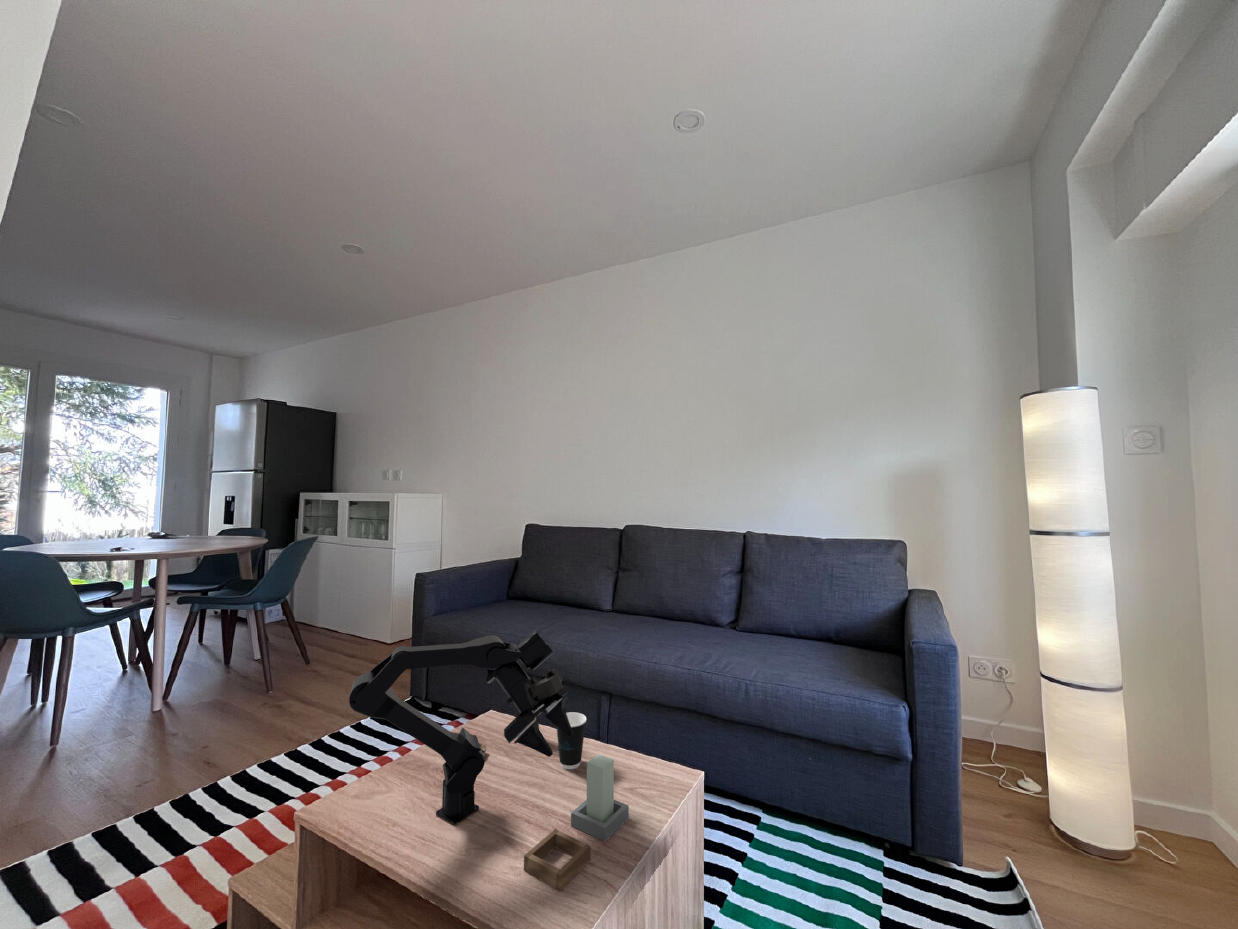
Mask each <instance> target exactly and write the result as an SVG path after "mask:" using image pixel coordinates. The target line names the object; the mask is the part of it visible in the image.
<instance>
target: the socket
mask: <svg viewBox="0 0 1238 929" xmlns="http://www.w3.org/2000/svg"><path fill="white" fill-rule="evenodd" d="M629 807H630V805H628V804H625V803H624V802H621V801H618V800H616V799H614V814H613V815H612V816H611V817H610V818H609V819H608V820H607V821H606V822H605V823H602V822H600V821H597V820H595V819H593V818H591V817H588V816H586V814H587V799H586V800H584V801H583V802H582V803H581V804H580V805H579V806H577V807H576V808H575V809H574V810H573V811H571V812H570V826H571V827H573V828H575V829H577V830H579V831H582V832H584V833H585V834H588V835H590V836H592V837H594V838H596V839H598V840H601V841H603V842H607V841H608V838H609V837H610V838H611V836H612V835H614V833H616V831H617V830H619V828H620V827H621V826H622V825H623V824H624V823H626V821H627V820H628V819H629V815H630V813H629V812H630V811H629V810H630V809H629ZM606 840H607V841H606Z"/></svg>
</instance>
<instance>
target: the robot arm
mask: <svg viewBox="0 0 1238 929" xmlns="http://www.w3.org/2000/svg"><path fill="white" fill-rule="evenodd" d="M553 654H554V651H553V650H552V648H551V647H550V645H549V644H548V643H547V642H546V641H545V640H544V639H543V638H542V636H541V635H540V634H539V633H538V631H536V630H533V631H532V632H530V633H529V635H528V636H527V637H526V638H525V639H524V640H523V641H521V642H520V643H519V644H518V645H516V644H515V643H512V642H508V641H507V642H506V641H503V640H502V639H501V638H500V637H498V636H497V635H493V634H491V635H490V634H489V635H485V636H481V637H477V638H474V639H472V640H469V641H466V642H463V643H448V644H434V645H421V646H419V645H417V646H406V645H405V646H404V645H403V646H402V645H401V646H398V647H396V648H395V649H394V650H393V651H392V653H390V654H389V655H388V656H387V657H385V658H384V659H383V660H381V661H380V662H379V663H377V664H376V665H375V666H373V668H371V670H370V671H368V672H364V673H362V674H360V675H358V676H357V677H356V678H355V679H354V681H353V682H352V685H351V690H350V694H349V697H348V699H349V700H348V701H349V702H348V703H349V706H350V708H351V709H352V710H353V711H354V712H356V713H358V714H361V715H364V716H366V717H369V718H374V719H380V720H386V721H387V722H389V723H390V724H391V725H393V726H395V728H398V729H400V730H401V731H403V732H404V733H406V734H408V735H409V736H410V737H412V738H413V739H415V740H417V741H419V743H422V744H423V745H425V746H426V747H428V748H430V750H433V751H434V752H436V753H437V754H439V755H440V756H441V757H442V759H443V760H444V761H445V762H444V763H443V765H442V770H443V775H444V779H443V780H442V801H441V803H442V804H441V806H442V807H441V808H439V809H438V810H436V811H435V815H436V816H438V817H439V818H441V819H443V820H445V821H446V822H448V823H450V824H452V825H453V826H455V825H458V824H459V823H461V822H462V821H464V820H465V819H467V818H468V817H470V816H471V815H473V814H474V813H476V812H477V811H479V810H480V806H479V804H476V803H475V802H476V801H475V798H476V797H475V796H476V792H475V783H476V780H477V778H478V776H479V774H480V773H482V772H483V769H484V767H485V758H484V756H483V753H482V750H481V747H480V744H481V743H480V742H479V739H478V736H477V735H476V734H471V733H470V732H469V731H468V730H466V728H464V727H461V729H460V731H459V732H452V731H450V730H448V729H447V728H445V727H444V726H442V725H441V724H439V723H438V722H437V721H435V720H433V719H432V718H430V717H428V716H427V715H426V714H424V713H422V712H421V711H419V710H418V709H416V708H415V707H414V706H412V705H410V704H409V703H408V702H406V701H404V700H403V699H401V698H400V697H399V696H398V694H396V692H395V691H394V690H393V688H392V686H393V685H394V683H395V682H396V681H397V680H398V679H399V677H400V676H402V674H403V673H404V672H405V671H407V670H414V669H425V668H426V669H427V668H428V669H429V668H438V667H449V666H462V665H464V666H469V667H473V668H474V667H475V668H478V669H479V668H480V669H486V676H485V682H486V683H487V684H491V683H492V682H494V680H496V681H497V682H498V684H499V685H500V687H501V688H502V690H503V691H504V692H505V694H506V695H507V696H508V697H509V698H508V699H507V700H506V703H507V704H508V706H510V705H511V704H512V703H513V705H514V706H515V707H516V709H517V710H518V711H519V713H518V715H516V716H515V717H514V718H513V719H512V720H511V722H509V724H507V726H506V727H505V728H504V729H503V737H504V738H505V739H506V741H507V742H508V744H511V742H513V744H515V745H516V744H520V745H522V746H525V747H528V748H530V749H532V750H534V751H536V752H538V753H541V754H542V755H545V756H546V757H548V758H550V757H552V755H553V754H554V752H553V750H552V748H551V746H550V745H549V742H548V741H547V740H546V738H545V736H544V735H543V734H542V732H541V731H540V724H539V723H540V720H539V718H537V717H538V716H539V715H541V713H545V714H546V715H545V716H544V717H545V718H546V719H547V720H549V721H550V722H551V723H552V724H553V725H554V726H556V728H557V727H558V728H559V729H560V730H561V731H563V732H564V733H565V734H567V735H568V736H571V735H572V734H573V731H572V728H571V726H570V723H569V720H568V717H567V714H566V713H567V711H566V700H567V698H568V697H567V694H568V691H567V689H566V688H565V687H564V685H563V684H562V682H563V679H564V676H563V675H561V673H560V672H559V671H558V670H557V668H554V669H551V670H549V671H548V672H547V673H546V677H545V678H544V679H541V680H540V681H539V680H538V678H537V677H535V676H533V677H532V678H530V676H528V674H527V673H526V671H525V670H524V669H523V667H522V665H520V663H519V662H518V660H520V662H521V663H522V664H523V665H524V667H525V669H527V671H528V670H531V671H533V670H534V671H535V670H536V669H537V668H538V667H540V666H541V665H542V664H543V663H544V662H545V661H546V660H547V659H549V657H551V656H552V655H553ZM532 711H534V712H532ZM535 718H536V721H535V722H534V721H533V720H534V719H535ZM479 743H480V744H479Z"/></svg>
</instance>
